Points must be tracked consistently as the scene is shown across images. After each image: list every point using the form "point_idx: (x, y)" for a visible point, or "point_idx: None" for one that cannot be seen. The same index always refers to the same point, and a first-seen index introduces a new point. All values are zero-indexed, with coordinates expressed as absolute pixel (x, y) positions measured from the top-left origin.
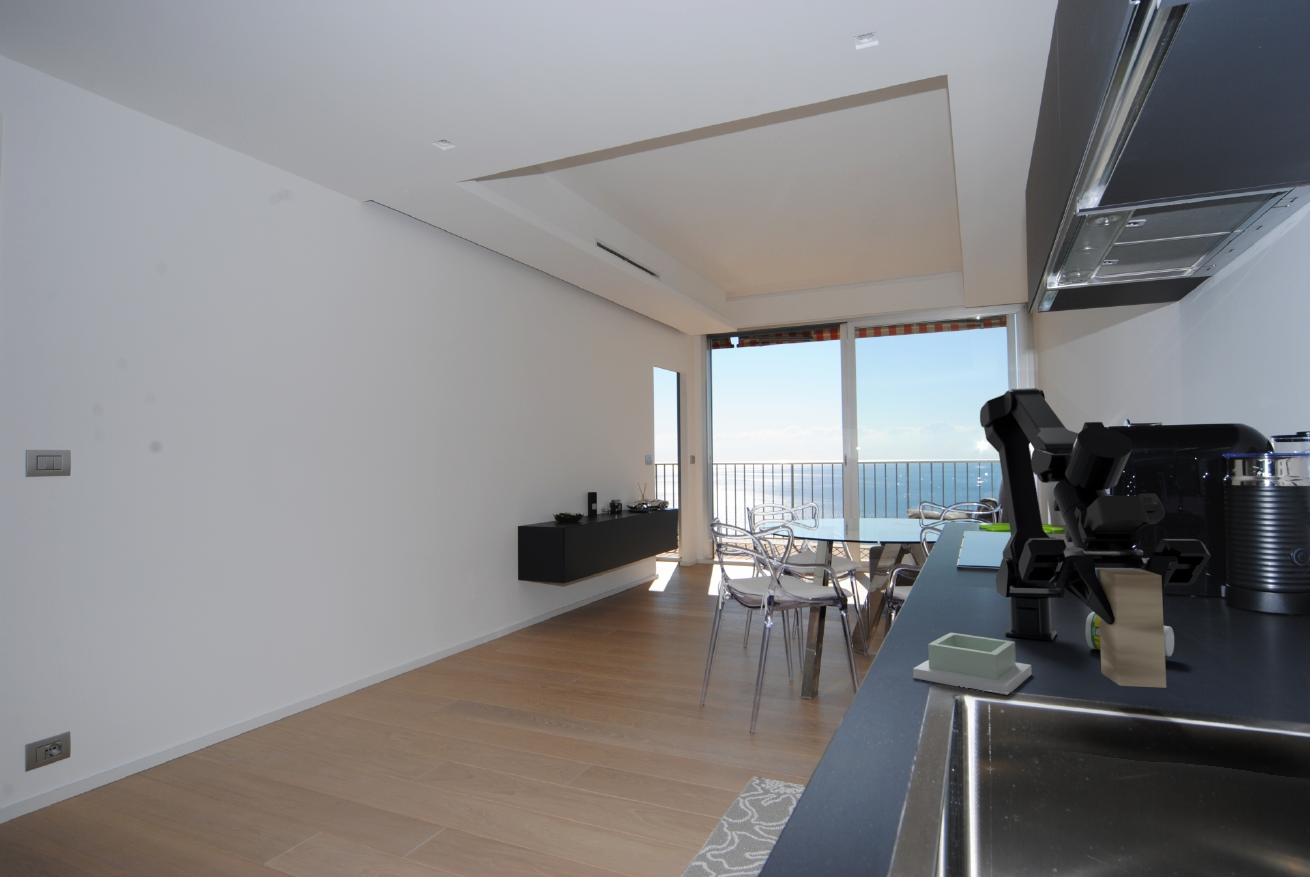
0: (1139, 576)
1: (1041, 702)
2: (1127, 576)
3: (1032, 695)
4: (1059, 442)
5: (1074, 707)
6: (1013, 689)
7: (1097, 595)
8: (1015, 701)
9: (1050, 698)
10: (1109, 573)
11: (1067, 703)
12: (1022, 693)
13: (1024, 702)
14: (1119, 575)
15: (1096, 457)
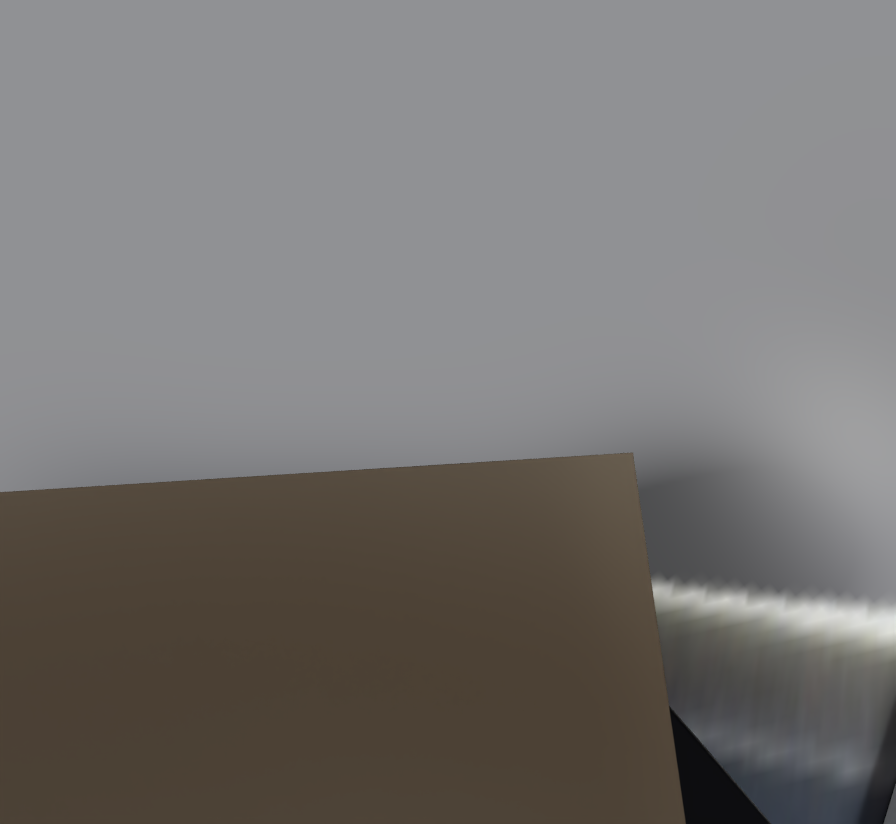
0: (164, 490)
1: (781, 638)
2: (395, 471)
3: (807, 741)
4: None
5: (660, 597)
6: (891, 805)
7: (716, 778)
8: (887, 628)
9: (735, 709)
10: (675, 762)
11: (676, 648)
12: (849, 765)
13: (851, 622)
14: (545, 469)
15: None
